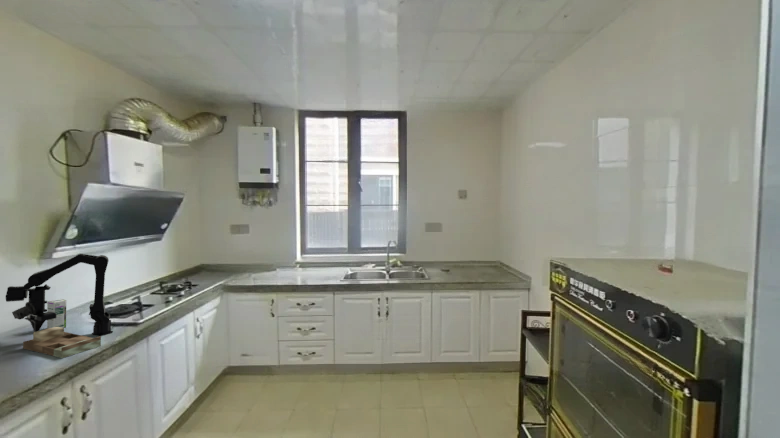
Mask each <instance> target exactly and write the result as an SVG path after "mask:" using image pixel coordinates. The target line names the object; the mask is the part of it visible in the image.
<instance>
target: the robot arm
mask: <svg viewBox="0 0 780 438" xmlns="http://www.w3.org/2000/svg"><path fill="white" fill-rule="evenodd" d="M81 263H82V264H86V265H91V266H93V267H94V272H95V282H94V283H95V285H94V297H93V298H94V302H93V303H90V304H89V313H88V315H89V316H90V318H91V319H92V320H93V321H95V322H93V324H94V325H93V328H92V331H93V332H92V333H91V335H95V336H98V337H99V336H101V337H102V336H105V335H108V334H111V333H113V332H114V331H113V330H112V319H110V318H111V314H110V313H109V312H107V311H106V306H105V301H104V295H105V281H106V278H105V277H106V272H107V268H108V263H109V257H108V256H107V255H103V254H100V255H94V254H93V255H92V254H84V253H77V254H76V255H75V256H73V257H71V258H68V259H67V260H65V261H62V262H61V263H58V264H56V265H54V266H52V267H51V268H50V267H49V268H47V269H43V270H41V271H36V272H34V273H33V274H31V275H29V277H28V279H27V283H25V284H23V285H22V286H20V285H19V286H13V285H12V286H8V287H7V290H6V294H5V301H6V303H7V302H8V303H9V302H10V303H11V302H21V301H23V302H24V300H25V299H27V298H28V301H27V302H26V303H25V305H24V306H23V307H20V308H17V309H16V310H14V311H12V312H11V313H12V316H13V318H14V319H17V320H23V319H24V320H26V321H28V322H30V325H31V327H32V330H33V332H37V331H41V329H42V326H43V325H44V323H45V322H47V320H50V319H54V318H56V317H57V314H56V313H54V312H47V308H46V304H47V301H48V300H46V291H49V290H50V289H51V286H49V285H48V284H45V283H46V282H47V281H49V280H50V279H52V278H53V277H54V276H56V275H58V274H61V273H62V272H64V271H66V270H68V269H70V268H72V267H75V266H76V265H78V264H81ZM43 284H44V285H43Z"/></svg>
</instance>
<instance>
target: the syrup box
mask: <svg viewBox="0 0 780 438" xmlns="http://www.w3.org/2000/svg"><path fill="white" fill-rule="evenodd" d="M46 301H47V303H46V305H47V306H46V307H47V308H46V309H47V312H54V313H56V314H57V317H56V318H54V319H50V320H46V323H47V324H46V329H49V328H53V327H61V328H64V329H65V328H66V327H67V300H66V299H63V298H58V299H52V300H49V301H48V300H46Z"/></svg>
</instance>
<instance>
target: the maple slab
mask: <svg viewBox="0 0 780 438" xmlns="http://www.w3.org/2000/svg"><path fill="white" fill-rule="evenodd" d="M64 332H65V327H64V328H61V327H53V328H49V329H48V328H45V329H42V330H41V329H40V330H39V331H37V332H34V331H33V334H32V335H33V336H32V339H33V340H36V341H40V342H41V341H45V340H48V339H52V338H56V337H59V336H63V335H64Z"/></svg>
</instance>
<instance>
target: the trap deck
mask: <svg viewBox="0 0 780 438" xmlns="http://www.w3.org/2000/svg"><path fill="white" fill-rule="evenodd" d="M101 340H102V336H99V335H98V336H97V337H90V336H86V335H81V334H77V333H71V332H67V331H64V335H63V336H59V337H56V338H52V339H48V340H45V341H41V342H40V341H36V340H33V338H31V339H28V340H25V341H23V342H22V349H24V350H28V351H31V352H36V353H40V354H45V355H49V356H52V357H55V358H61V359H64V358H66V357H67V358H68V357H70V356H73V355H76V354H77V355H78V354H79V353H83V352H86V351H90V350H92V349H95V348H99V347H101V345H102V343H101V342H102V341H101Z"/></svg>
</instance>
